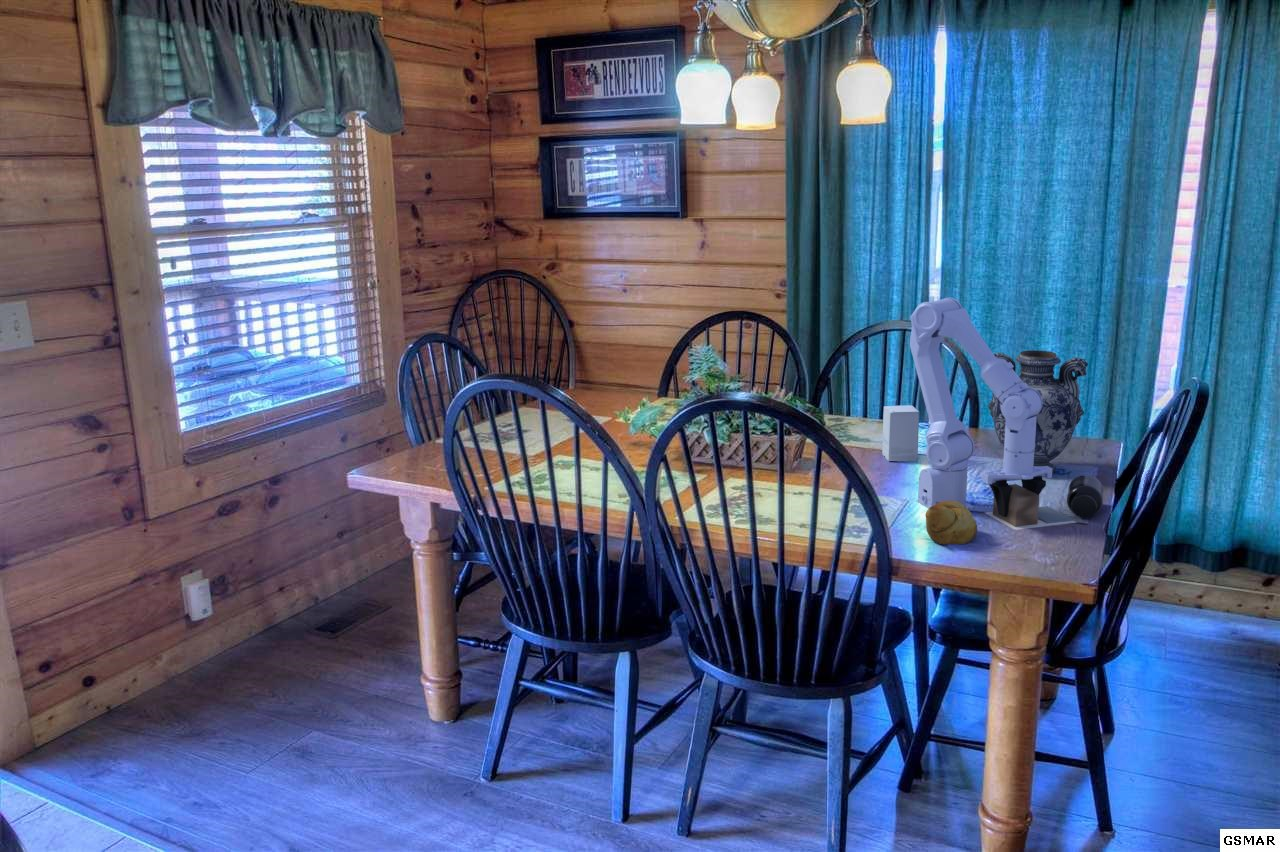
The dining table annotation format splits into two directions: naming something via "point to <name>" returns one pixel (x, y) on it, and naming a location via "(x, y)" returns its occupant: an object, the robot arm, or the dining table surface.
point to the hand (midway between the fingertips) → (1015, 514)
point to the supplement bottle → (1085, 496)
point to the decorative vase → (1047, 401)
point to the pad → (1052, 515)
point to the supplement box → (900, 433)
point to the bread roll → (950, 523)
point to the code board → (1040, 524)
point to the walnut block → (1020, 507)
